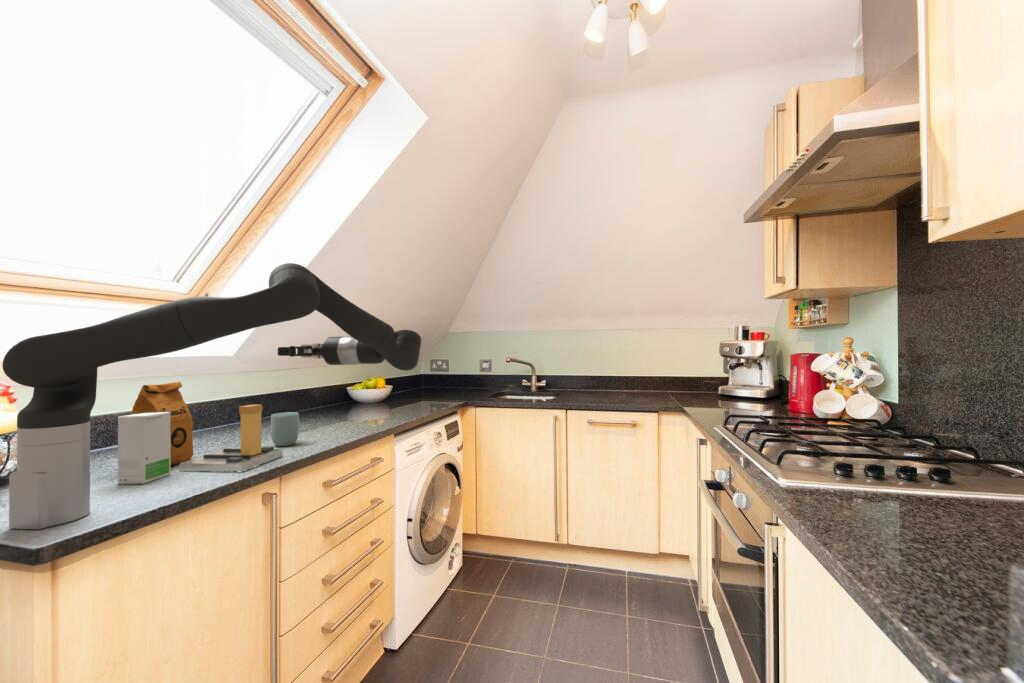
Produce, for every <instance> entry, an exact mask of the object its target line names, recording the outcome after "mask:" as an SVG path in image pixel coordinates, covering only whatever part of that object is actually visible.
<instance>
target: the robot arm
mask: <svg viewBox="0 0 1024 683" xmlns="http://www.w3.org/2000/svg"><path fill="white" fill-rule="evenodd" d="M315 311H316V312H318V313H320V314H322V315H323V316H324V317H326V318H327V319H329V320H330V321H331V322H333V323H334V324H335V325H336V326H337V327H339V328H340V329H341V331H343V332H345V333H346V334H347V336H328V337H327V338H325V340H324V342H323V343H313V344H301V345H300V346H295V345H290V346H279V347H278V348H277V356H279V357H282V356H283V357H284V356H286V357H287V356H288V357H290V358H292V357H294V358H295V357H300V358H302V359H305V358H307V359H311V358H312V359H323V361H324V362H325V363H326V364H327V365H329V366H354V365H355V366H356V365H361V364H362V365H364V364H365V365H366V364H367V365H370V364H371V365H374V364H375V365H376V364H381V363H383V362H384V361H385V360H386V362H387V363H389V365H391V366H392V367H394V368H395V369H397V370H400V371H404V372H407V371H411V370H414V369H415V368H416V367H417V365H418V363H419V358H420V351H421V346H422V337H421V336H420V334H419V333H418V332H416V331H414V330H410V329H400V330H396V331H395V330H394V327H393V326H392V325H390V324H388V323H387V322H385V321H383V320H382V319H380V318H378V317H376V316H375V315H373V314H371V313H369V312H368V311H366V310H364V309H362V308H361V307H359V306H358V305H356V304H354V303H353V302H351V301H350V300H348V299H347V298H346V297H344V296H343V295H342V294H340V293H339V292H337V291H335V290H334V289H333V288H331V287H330V286H329V285H328V284H327V283H325V282H324V281H322V279H320V278H319V277H318V276H317V275H316V274H314V272H312V271H311V270H309V269H308V268H307V267H305V266H303V265H302V264H299V263H294V262H293V263H292V262H291V263H290V262H288V263H287V262H286V263H282V264H280V265H278V266H276V267H274V269H273V270H271V272H270V275H269V279H268V287H267V288H264V289H261V290H259V291H256V292H252V293H249V294H246V295H240V296H235V297H233V296H231V297H220V296H190V297H186V298H181V299H178V300H173V301H169V302H165V303H162V304H159V305H154V306H151V307H148V308H144V309H142V310H139V311H135V312H132V313H129V314H125V315H122V316H119V317H117V318H114V319H110V320H107V321H104V322H101V323H99V324H98V323H97V324H94V325H91V326H84V327H82V328H77V329H76V328H75V329H70V330H66V331H65V330H64V331H60V332H54V333H48V334H44V335H43V334H42V335H37V336H31V337H28V338H25V339H23V340H21V341H18V343H16V344H14V345H13V346H12V347H11V348H10V349H9V350H8V351H7V353H6V354H5V355H4V357H3V360H2V370H3V373H4V374H5V376H6V377H7V378H9V379H10V380H11V381H13V382H14V383H17V385H18V384H19V385H21V386H25V387H29V388H33V394H32V397H31V399H30V401H29V402H28V404H27V405H26V406H25V407H24V408H22V409H21V410H20V411H19V412H18V413H17V415H16V416H17V417H16V470H15V471H13V472H11V473H10V474H9V476H8V477H9V478H8V479H9V480H8V481H9V482H8V483H9V484H8V485H9V487H8V488H9V494H8V496H9V498H8V501H9V502H8V503H9V504H8V505H9V506H8V507H9V508H8V509H9V510H8V516H9V517H8V529H14V528H15V529H18V530H42V529H45V528H49V527H53V526H58V525H62V524H66V523H69V522H73V521H77V520H80V519H82V518H84V517H85V516H88V515H89V514H90V512H91V412H92V410H93V408H94V406H95V404H96V399H97V386H98V368H100V367H103V366H106V365H109V364H113V363H114V364H115V363H119V362H124V361H129V360H130V361H131V360H136V359H142V358H143V359H144V358H151V357H154V356H159V355H165V354H169V353H174V352H178V351H181V350H182V351H183V350H185V349H188V348H192V347H195V346H198V345H202V344H205V343H208V342H211V341H214V340H216V339H220V338H224V337H227V336H231V335H234V334H238V333H241V332H245V331H248V330H251V329H255V328H259V327H264V326H269V325H272V324H273V325H274V324H278V323H285V322H289V321H290V322H291V321H294V320H298V319H302V318H304V317H307V316H310V315H311V314H312V313H314V312H315Z"/></svg>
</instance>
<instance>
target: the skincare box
mask: <svg viewBox="0 0 1024 683" xmlns="http://www.w3.org/2000/svg"><path fill="white" fill-rule="evenodd" d="M170 413H171V412H157V413H141V414H133V415H132V414H127V415H119V416H117V426H118V427H117V484H118V485H141V484H142V485H143V484H146V483H149V482H152V481H155V480H158V479H162V478H165V477H167V476H170V475H171V472H172V471H171V470H172V469H171V468H172V467H171V466H172V465H171V461H170V460H171V455H170Z"/></svg>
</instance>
